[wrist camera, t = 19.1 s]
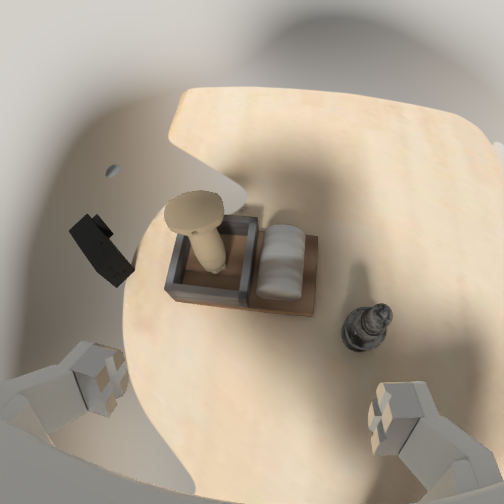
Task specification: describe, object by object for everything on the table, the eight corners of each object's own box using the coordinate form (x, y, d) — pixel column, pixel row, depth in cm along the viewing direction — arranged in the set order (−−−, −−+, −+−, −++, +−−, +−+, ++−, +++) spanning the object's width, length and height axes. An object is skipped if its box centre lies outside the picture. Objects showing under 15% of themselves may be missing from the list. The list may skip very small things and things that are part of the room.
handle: (194, 253, 48) (164, 195, 35) (236, 248, 48) (221, 187, 35) (195, 283, 46) (163, 233, 33) (239, 278, 46) (224, 225, 32)
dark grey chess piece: (378, 314, 44) (409, 286, 33) (378, 354, 41) (411, 338, 30) (340, 312, 44) (360, 284, 33) (338, 353, 42) (360, 337, 31)
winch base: (312, 316, 44) (318, 303, 38) (175, 301, 47) (161, 286, 41) (316, 240, 49) (322, 218, 43) (191, 230, 52) (181, 207, 46)
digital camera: (141, 265, 50) (123, 246, 43) (117, 288, 48) (96, 272, 42) (109, 228, 53) (92, 207, 47) (88, 249, 52) (68, 230, 45)
